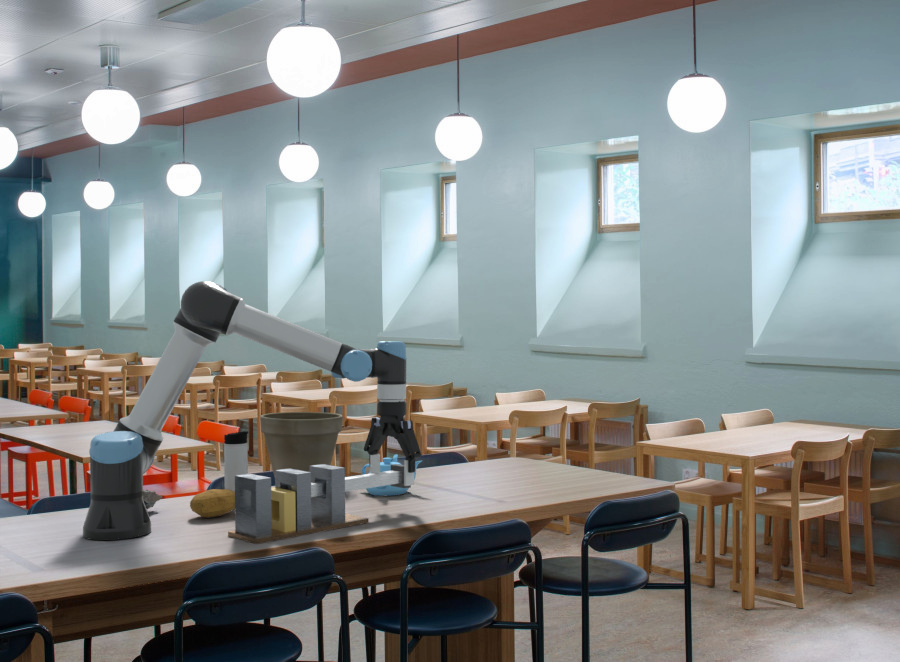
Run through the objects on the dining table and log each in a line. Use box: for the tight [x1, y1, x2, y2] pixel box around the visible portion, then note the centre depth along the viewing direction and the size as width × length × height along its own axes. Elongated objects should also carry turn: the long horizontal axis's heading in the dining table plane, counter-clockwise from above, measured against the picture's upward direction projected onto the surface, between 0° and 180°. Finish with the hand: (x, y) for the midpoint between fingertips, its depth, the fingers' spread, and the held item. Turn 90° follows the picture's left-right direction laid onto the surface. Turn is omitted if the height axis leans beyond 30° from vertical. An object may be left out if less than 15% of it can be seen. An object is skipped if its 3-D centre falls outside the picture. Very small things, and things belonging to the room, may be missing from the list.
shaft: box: [289, 463, 412, 497], centre depth 238 cm, size 35×6×6 cm, turn 134°
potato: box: [189, 488, 235, 519], centre depth 244 cm, size 9×13×7 cm
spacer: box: [271, 486, 296, 532], centre depth 223 cm, size 3×9×9 cm, turn 42°
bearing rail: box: [227, 464, 369, 545], centre depth 227 cm, size 32×12×14 cm, turn 134°
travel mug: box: [223, 430, 249, 492], centre depth 261 cm, size 6×7×20 cm
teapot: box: [361, 453, 422, 497], centre depth 276 cm, size 15×15×10 cm
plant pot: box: [259, 411, 344, 478], centre depth 290 cm, size 25×25×22 cm
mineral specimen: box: [143, 489, 163, 510], centre depth 250 cm, size 10×8×10 cm
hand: (391, 482), depth 247 cm, fingers open, 13 cm apart
